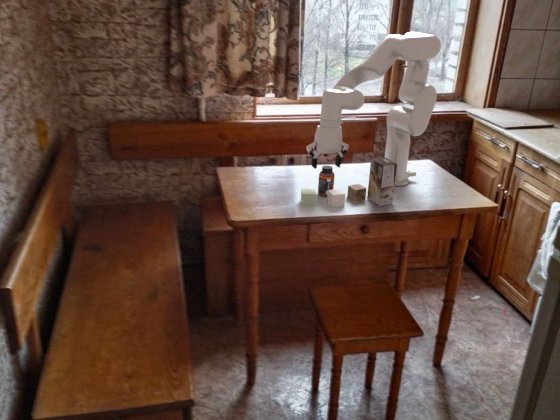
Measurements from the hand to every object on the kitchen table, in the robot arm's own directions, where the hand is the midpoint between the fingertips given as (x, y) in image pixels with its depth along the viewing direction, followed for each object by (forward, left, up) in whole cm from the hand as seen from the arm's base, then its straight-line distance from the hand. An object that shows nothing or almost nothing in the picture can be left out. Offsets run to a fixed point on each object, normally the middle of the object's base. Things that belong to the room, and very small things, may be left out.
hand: (325, 166), depth 212 cm
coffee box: (-19, +11, -12) cm, 25 cm away
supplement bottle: (-1, 0, -12) cm, 12 cm away
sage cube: (+9, +7, -12) cm, 16 cm away
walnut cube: (-11, +7, -12) cm, 17 cm away
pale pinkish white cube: (-1, +10, -12) cm, 15 cm away
